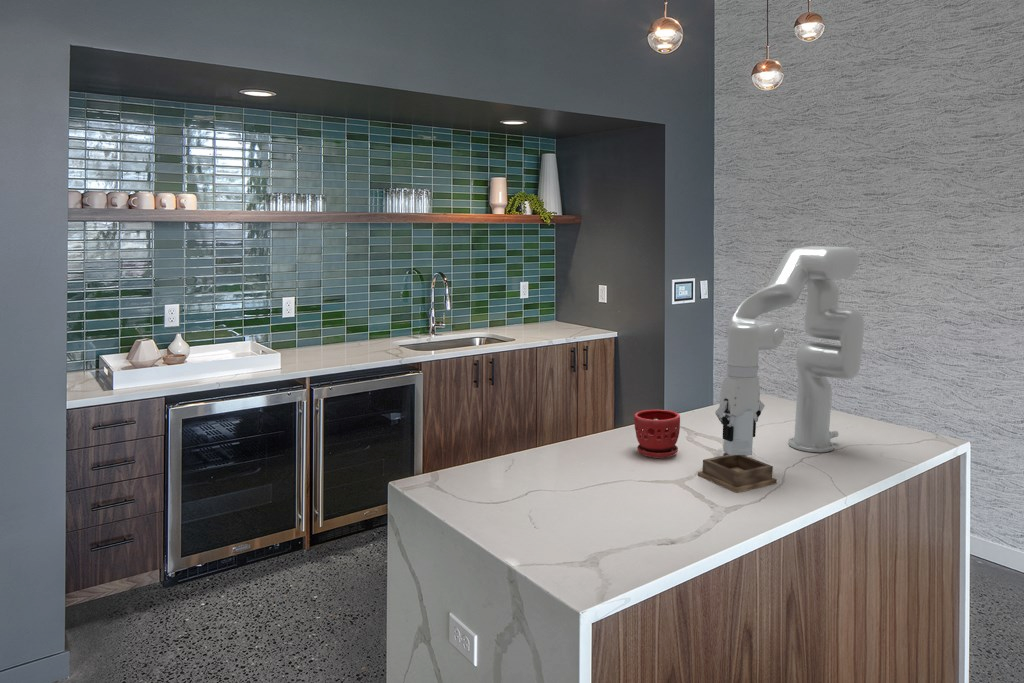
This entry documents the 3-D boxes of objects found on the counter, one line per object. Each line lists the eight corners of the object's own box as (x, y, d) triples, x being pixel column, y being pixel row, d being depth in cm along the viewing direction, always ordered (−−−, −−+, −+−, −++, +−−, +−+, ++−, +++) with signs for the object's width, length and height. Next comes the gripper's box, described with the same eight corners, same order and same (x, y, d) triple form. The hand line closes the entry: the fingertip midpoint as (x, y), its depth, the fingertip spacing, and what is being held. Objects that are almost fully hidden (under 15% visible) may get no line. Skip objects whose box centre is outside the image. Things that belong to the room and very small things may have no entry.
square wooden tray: (736, 467, 198) (737, 451, 197) (776, 483, 185) (777, 466, 185) (697, 475, 191) (698, 459, 190) (736, 492, 179) (737, 475, 178)
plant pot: (675, 447, 215) (677, 408, 213) (681, 461, 203) (683, 420, 201) (632, 445, 217) (633, 407, 215) (635, 460, 204) (636, 419, 202)
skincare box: (747, 450, 189) (749, 406, 187) (752, 456, 185) (755, 410, 183) (723, 450, 189) (725, 406, 187) (728, 456, 185) (731, 410, 183)
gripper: (755, 365, 191) (752, 429, 194) (706, 372, 183) (703, 439, 186) (777, 370, 184) (774, 436, 187) (727, 377, 176) (724, 446, 179)
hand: (738, 437), depth 186 cm, fingers closed on skincare box, 7 cm apart
